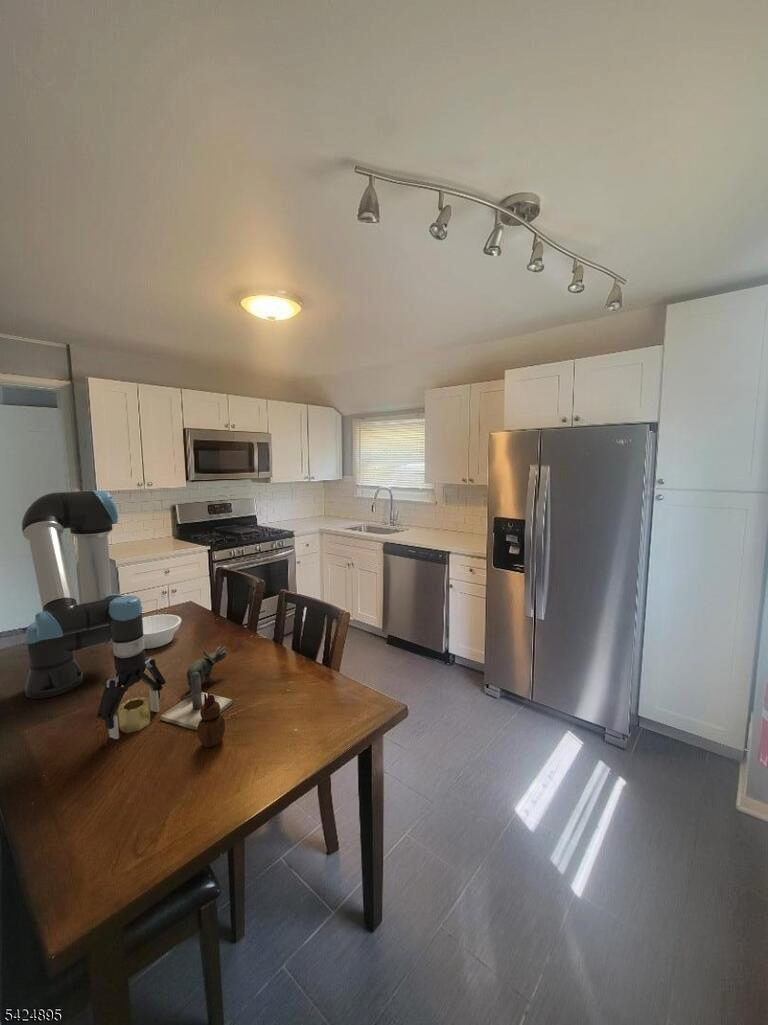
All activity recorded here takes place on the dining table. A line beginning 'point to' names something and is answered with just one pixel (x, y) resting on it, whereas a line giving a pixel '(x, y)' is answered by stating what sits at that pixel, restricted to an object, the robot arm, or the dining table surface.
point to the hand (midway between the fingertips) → (135, 723)
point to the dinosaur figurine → (205, 666)
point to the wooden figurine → (210, 723)
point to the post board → (192, 706)
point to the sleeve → (134, 714)
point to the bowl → (159, 629)
